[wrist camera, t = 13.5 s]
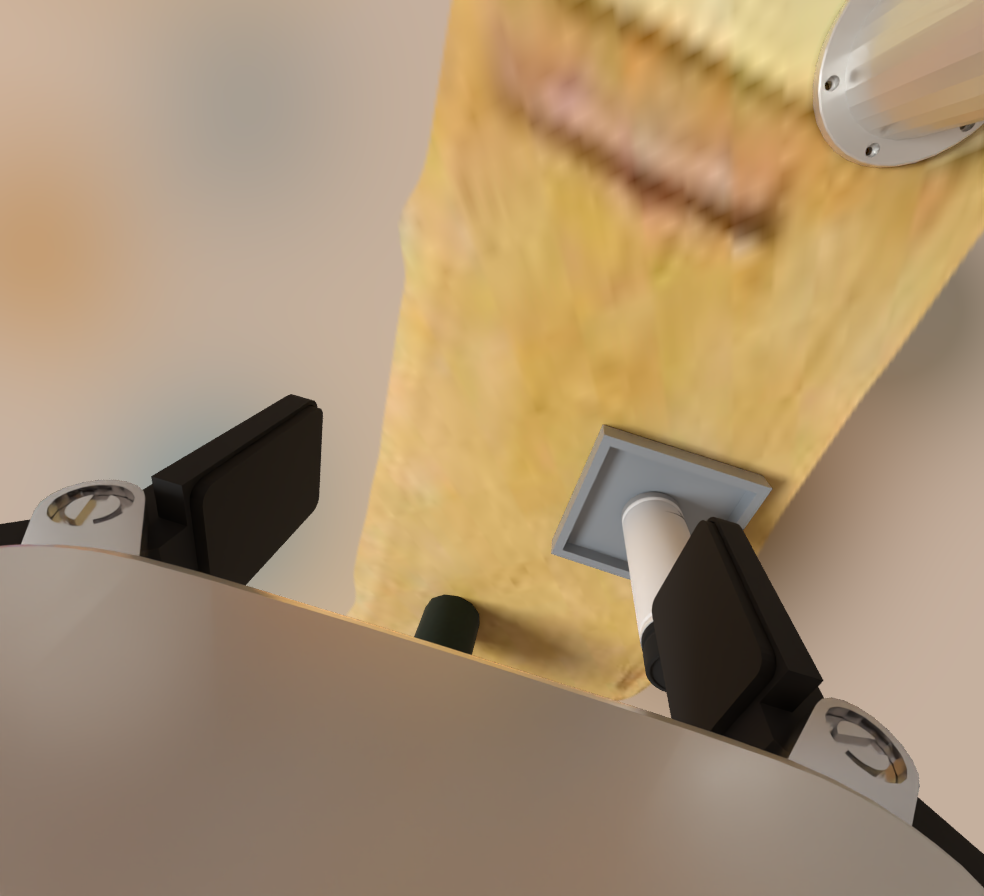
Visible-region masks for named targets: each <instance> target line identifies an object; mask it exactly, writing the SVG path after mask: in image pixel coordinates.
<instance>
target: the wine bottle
mask: <svg viewBox="0 0 984 896" xmlns="http://www.w3.org/2000/svg"><path fill="white" fill-rule="evenodd" d="M478 628H479V613H478V612H477V611H476V609H475V608H474V606H473V605H472V604H471V603H469V602H468V601H466V600H464V599H462V598H460V597H458V596H450V595H442V596H438V597H435V598H432V599H431V601H430V602H429V603H428V605H427V606H426V607H425V610H424V613H423V615H422V618H421V621H420V623H419V626H418V628H417V631H416V634H415V636H414V637H415V638H418V639H422V640H425V641H428V642H431V643H434V644H438V645H441V646H444V647H447V648H450V649H454V650H457V651H460V652H463V653H466V654H470V655H472V652H473V648H474V644H475V640H476V636H477V632H478Z"/></svg>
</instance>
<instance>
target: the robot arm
mask: <svg viewBox="0 0 984 896" xmlns="http://www.w3.org/2000/svg"><path fill="white" fill-rule="evenodd" d="M825 83H828V84H829V89H828V90H826V89H825ZM813 108H814V112H815V117H816V122H817V125H818V127H819V129H820V131H821V133H822V136H823V138H824V139H825V141H826V142H827V143H828V144H829V145H830V147H831V148H832V149H833V150H834V151H835V152H836V153H838V154H839V155H841V156H842V157H843V158H845V159H846V160H848V161H851V162H854V163H856V164H859V165H862V166H869V167H877V168H882V167H894V166H901V165H906V164H910V163H916V162H918V161H921V160H924V159H927V158H930V157H933V156H935V155H937V154H939V153H941V152H943V151H945V150H947V149H949V148H951V147H953V146H955V145H956V144H958V143H959V142H961V141H962V140H964V139H965V138H967V137H968V136H970V135H971V134H972V133H974V132H975V131H976V130H978V129H979V128H980V127H981V126H982V125H983V124H984V0H847V1H846V3H845V4H844V6H843V7H842V9H841V10H840V12H839V13H838V15H837V16H836V18H835V19H834V22H833V24H832V26H831V28H830V30H829V32H828V34H827V36H826V38H825V40H824V42H823V45H822V49H821V52H820V55H819V58H818V61H817V64H816V70H815V76H814V82H813ZM960 126H961V127H960ZM867 148H868V149H869V153H868V154H867V155H866V153H865V152H866V149H867ZM322 423H323V412H322V410H321V409H320V408H317V404H316V402H315V401H313V400H310V399H306V398H303V397H300V396H296V395H292V394H290V395H288V396H286V397H284V398H283V399H281V400H279V401H277V402H276V403H274V404H272V405H271V406H269V407H267V408H266V409H264V410H262V411H261V412H259V413H257V414H256V415H254V416H252V417H251V418H249V419H247V420H246V421H244V422H242V423H240V424H239V425H237V426H235V427H234V428H232V429H230V430H229V431H227V432H225V433H224V434H222V435H220V436H219V437H217V438H215V439H214V440H212V441H210V442H208V443H207V444H205V445H203V446H202V447H200V448H198V449H197V450H195V451H194V452H192V453H190V454H188V455H187V456H185V457H183V458H182V459H180V460H178V461H176V462H175V463H173V464H171V465H170V466H168V467H167V468H165V469H163V470H161V471H160V472H158V473H156V474H155V475H153V476H151V477H152V483H153V484H152V485H150V486H148V487H147V488H145V489H143V490H142V489H141V488H139V487H138V486H137V485H134V484H132V483H129V482H126V481H119V480H95V481H89V482H82V483H79V484H75V485H72V486H68V487H65V488H63V489H61V490H58V491H56V492H54V493H52V494H50V495H49V496H47V497H46V498H45V499H43V500H42V501H41V502H40V503H39V504H38V506H37V507H36V508H35V510H34V512H33V514H32V517H31V520H24V521H18V522H11V523H5V524H0V896H984V854H983V853H982V852H980V851H979V850H978V849H977V848H976V847H974V846H973V845H972V844H971V843H970V842H969V841H968V840H967V839H965V838H964V837H963V836H962V835H961V834H960V833H958V832H957V831H956V830H955V829H954V828H953V827H951V826H950V825H949V824H948V823H947V822H946V821H945V820H944V819H942V818H941V817H940V816H939V815H938V814H937V813H935V812H934V811H933V810H932V809H931V808H930V807H928V806H927V805H926V804H925V803H924V802H923V801H922V800H920V799H919V798H918V792H919V787H920V785H919V774H918V772H917V770H916V767H915V765H914V763H913V760H912V759H911V757H910V756H909V754H908V753H907V751H906V750H905V749H904V747H903V746H902V744H901V743H900V742H899V741H898V740H897V739H896V738H895V737H894V736H893V734H892V733H891V732H890V731H889V730H888V729H887V728H885V727H884V726H883V725H882V724H881V723H879V722H878V721H877V720H876V719H875V718H874V717H872V716H871V715H869V714H868V713H866V712H865V711H863V710H862V709H860V708H859V707H857V706H855V705H853V704H850V703H848V702H846V701H844V700H840V699H836V698H824V697H823V695H822V693H821V691H820V690H819V688H818V686H819V685H820V684H821V682H822V681H823V679H822V677H821V675H820V674H819V671H818V670H817V668H816V666H815V664H814V662H813V660H812V658H811V656H810V655H809V653H808V651H807V649H806V647H805V645H804V643H803V642H802V640H801V638H800V636H799V634H798V632H797V630H796V629H795V627H794V625H793V623H792V621H791V619H790V617H789V615H788V614H787V612H786V610H785V608H784V606H783V604H782V603H781V601H780V599H779V597H778V595H777V593H776V591H775V589H774V588H773V586H772V584H771V582H770V580H769V579H768V576H767V574H766V573H765V571H764V569H763V567H762V565H761V563H760V561H759V560H758V558H757V556H756V554H755V552H754V550H753V548H752V546H751V545H750V543H749V541H748V539H747V537H746V535H745V533H744V532H743V530H742V528H741V526H740V525H739V524H737V523H734V522H730V521H727V520H723V519H720V518H716V517H710V518H709V519H708V520H707V521H705V520H701V521H700V522H699V523H698V524H697V526H696V527H695V529H694V531H693V533H692V534H691V536H690V538H689V540H688V541H687V543H686V545H685V546H684V548H683V550H682V552H681V553H680V555H679V557H678V558H677V560H676V562H675V564H674V565H673V567H672V569H671V571H670V572H669V574H668V576H667V577H666V579H665V581H664V583H663V584H662V586H661V588H660V589H659V591H658V593H657V595H656V596H655V598H654V600H653V604H652V618H653V623H654V628H655V634H656V639H657V644H658V650H659V655H660V660H661V665H662V671H663V676H664V681H665V687H666V692H667V697H668V702H669V708H670V713H671V718H672V719H671V718H667V717H665V716H662V715H659V714H656V713H653V712H649V711H646V710H643V709H640V708H637V707H634V706H631V705H628V704H624V703H621V702H618V701H615V700H612V699H609V698H606V697H602V696H599V695H596V694H593V693H590V692H587V691H584V690H580V689H577V688H574V687H571V686H568V685H565V684H562V683H558V682H555V681H552V680H549V679H546V678H543V677H540V676H537V675H533V674H530V673H527V672H524V671H521V670H517V669H514V668H511V667H508V666H505V665H502V664H498V663H495V662H492V661H489V660H486V659H482V658H479V657H476V656H473V655H470V654H466V653H463V652H460V651H457V650H454V649H450V648H447V647H444V646H441V645H438V644H434V643H431V642H428V641H425V640H422V639H418V638H415V637H412V636H409V635H406V634H402V633H399V632H396V631H393V630H389V629H386V628H383V627H380V626H377V625H373V624H370V623H367V622H364V621H360V620H357V619H354V618H350V617H347V616H344V615H340V614H337V613H334V612H331V611H328V610H324V609H321V608H318V607H315V606H311V605H308V604H305V603H302V602H298V601H295V600H291V599H288V598H285V597H282V596H278V595H275V594H272V593H269V592H266V591H262V590H259V589H256V588H252V587H249V586H246V584H247V583H248V582H249V581H250V580H251V579H252V578H253V577H254V575H255V574H256V573H257V572H258V571H259V570H260V569H261V568H262V567H263V566H264V564H266V562H267V561H268V560H269V559H270V558H271V557H272V556H273V555H274V553H276V551H277V550H278V549H279V548H280V547H281V546H282V545H283V544H284V543H285V542H286V541H287V540H288V538H289V537H290V536H291V535H292V534H293V533H294V532H295V531H296V529H298V528H299V526H300V525H301V524H302V523H303V522H304V521H305V520H306V519H307V518H308V516H310V514H311V513H312V512H313V511H314V510H315V508H316V506H317V503H318V500H319V487H320V466H321V464H320V463H321V444H322Z"/></svg>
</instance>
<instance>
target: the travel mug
mask: <svg viewBox="0 0 984 896" xmlns="http://www.w3.org/2000/svg"><path fill="white" fill-rule="evenodd" d="M621 521H622V527H623V534H624V540H625V547H626V553H627V560H628V566H629V573H630V579H631V585H632V592H633V598H634V605H635V611H636V618H637V624H638V631H639V636H640V644H641V647H642V651H643V658H644V665H645V671H646V675H647V678H648V680H649V681H650V682H651V683H652V684H653V685H654V686H655V687H657V688H658V689H660V690H662V691H665V692H666V687H665V681H664V676H663V671H662V665H661V660H660V655H659V650H658V644H657V639H656V634H655V628H654V623H653V618H652V604H653V600H654V598H655V596H656V595H657V593H658V591H659V589H660V588H661V586H662V584H663V583H664V581H665V579H666V577H667V576H668V574H669V572H670V571H671V569H672V567H673V565H674V564H675V562H676V560H677V558H678V557H679V555H680V553H681V552H682V550H683V548H684V546H685V545H686V543H687V541H688V540H689V538H690V536H691V535H690V533H689V530H688V527H687V525H686V522H685V519H684V517H683V514H682V511H681V508H680V506H679V504H678V503H677V502H676V501H675V500H674V499H673V498H672V497H670V496H668V495H666V494H663V493H659V492H646V493H641V494H639V495H636V496H635V497H633V498H631V499H630V500H629V501H628V502H627V503H626V504H625V506H624V507H623V510H622V513H621Z"/></svg>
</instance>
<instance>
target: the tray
mask: <svg viewBox="0 0 984 896" xmlns="http://www.w3.org/2000/svg"><path fill="white" fill-rule="evenodd" d="M771 490H772V487H771V486H770V485H769V483H768V482H767V481H766V479H765V478H764V477H763V476H762V475H759V474H756V473H753V472H750V471H746V470H743V469H740V468H737V467H734V466H731V465H728V464H725V463H722V462H718V461H715V460H712V459H709V458H706V457H703V456H700V455H697V454H693V453H690V452H687V451H684V450H681V449H678V448H675V447H672V446H669V445H665V444H662V443H659V442H656V441H653V440H650V439H647V438H644V437H641V436H637V435H634V434H631V433H628V432H625V431H622V430H619V429H616V428H612V427H609V426H606V425H603V426H602V428H601V430H600V432H599V435H598V437H597V439H596V442H595V444H594V446H593V448H592V451H591V453H590V455H589V457H588V460H587V462H586V464H585V467H584V469H583V471H582V473H581V476H580V478H579V480H578V483H577V485H576V487H575V489H574V492H573V494H572V496H571V498H570V501H569V503H568V505H567V508H566V510H565V512H564V514H563V517H562V519H561V521H560V524H559V526H558V528H557V530H556V533H555V535H554V537H553V540H552V550H551V554H554V555H557V556H560V557H563V558H566V559H569V560H572V561H575V562H578V563H581V564H584V565H587V566H590V567H593V568H596V569H599V570H602V571H605V572H608V573H611V574H614V575H617V576H620V577H623V578H627V579H630V573H629V566H628V560H627V553H626V547H625V540H624V534H623V527H622V521H621V513H622V510H623V507H624V506H625V504H626V503H627V502H628V501H629V500H630V499H631V498H633V497H635V496H636V495H639V494H641V493H646V492H659V493H663V494H666V495H668V496H670V497H672V498H673V499H674V500H675V501H676V502H677V503H678V504H679V506H680V508H681V511H682V514H683V517H684V519H685V522H686V525H687V527H688V530H689V533H690V535H691V534H692V533H693V531H694V529H695V527H696V526H697V524H698V523H699V522H700V521H701V520H705V521H707V520H708V519H709V518H710V517H716V518H720V519H723V520H727V521H730V522H734V523H737V524H739V525H740V526H741V528H742V530H744V528H745V527H746V526H747V524H748V523H749V521H750V520H751V518H752V517H753V516H754V514H755V513H756V511H757V510H758V509H759V507H760V506H761V504H762V503H763V501H764V500H765V499H766V497H767V496H768V494H769V493H770V491H771ZM630 580H631V579H630Z"/></svg>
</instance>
